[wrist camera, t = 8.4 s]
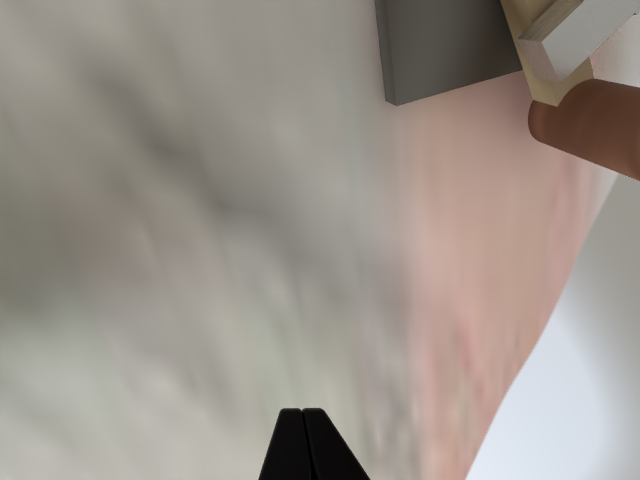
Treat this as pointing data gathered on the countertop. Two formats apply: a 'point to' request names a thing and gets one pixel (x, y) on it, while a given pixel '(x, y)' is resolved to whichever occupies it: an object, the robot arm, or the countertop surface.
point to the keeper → (572, 34)
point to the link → (579, 105)
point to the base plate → (442, 46)
